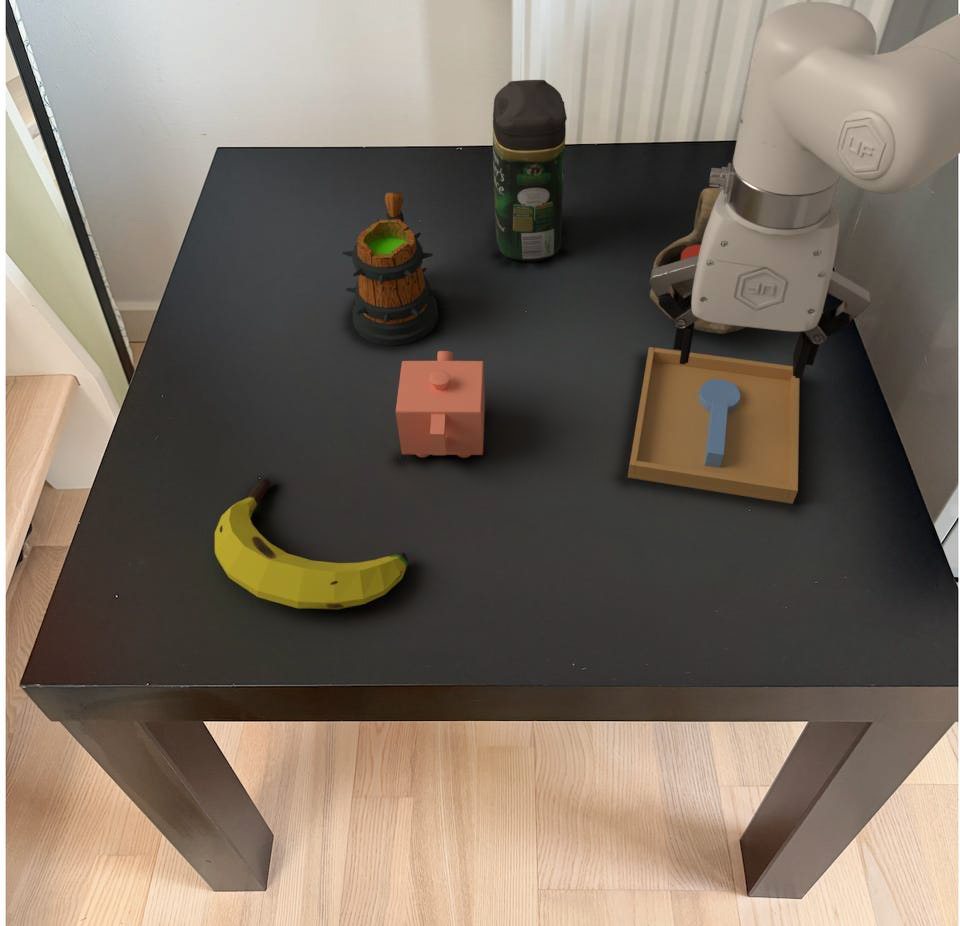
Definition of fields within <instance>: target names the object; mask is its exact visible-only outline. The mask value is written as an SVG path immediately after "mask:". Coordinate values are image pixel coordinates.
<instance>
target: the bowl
mask: <svg viewBox="0 0 960 926" xmlns="http://www.w3.org/2000/svg"><path fill="white" fill-rule="evenodd" d="M721 191H722V189H719V187H706V188H703V189H702V191H701V192H700V194H699V198H698V202H697V207H696V211H695V217H694V222H693V231H692V232H690V233H689V234H688V235H686V236H684V237H682V238H679V239H677V240H676V241H674V242H672V243H671V244H669V245H668V246H667V247H665V248H664V249H662V250H661V251H660V252H659V253H658V255H657V256H656V258H655V260H654V261H653V268H652V269H654V268H657V267H660V266H664V265H667V264H670V263H674V262H677V261H680V259H681V254H682V252H683V250H684V249H686V248H687V247H689V246H693V245H701V244H702V240H703V236H704V233H705V230H706V227H707V224H708V221H709V218H710V214H711V212H712V209H713V207H714V204H715V202H716V200H717V198H718V196H719V194H720V192H721ZM693 282H694V278H692V279H689V280H685V281H682V282H678V283H675V284H672V285H671V286H672V287H673V288H674V289H675V290H676V291H677V292H678V293H679V294H680V295H681V296H684V295H685V294H686V293H688V292H689V291H691V290H692V289H693ZM649 297H650V299H651V301H652V302H653V303H654V304H655V305H656V306H657V307H658V308H659V309H660V310H661V311H662V312H663V314H665V315H666V316H667V317H668V318H669V319H671V320H672V321H674V319H673V318H672V317H671V316H670V315H669V314H668V313H667V312H666V311H664V310H663V309H662V308H661V307H660V305H659V300H658V298H657V296H656V295H655V293H654V291H653V289H652V287H651V288H650V290H649ZM743 329H747V327H744V326H736V325H727V324H719V323H712V322H707V321H704V320H701V319H698V320H696V321H695V323H694V330H697V331H701V332H705V333H712V334H718V335H725V334H729V333H733V332H737V331H741V330H743Z"/></svg>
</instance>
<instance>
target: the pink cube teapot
mask: <svg viewBox="0 0 960 926" xmlns="http://www.w3.org/2000/svg"><path fill="white" fill-rule="evenodd" d="M484 367H485V366H484V361H483V360H454V352H453V351H450V350H438V351H437V359H436V360H402V361H401V367H400V375H399V382H398V390H397V398H396V406H395V417H396V418H395V419H396V424H397V431H398V439H399V445H400V453H401V455H416V456H417V457H419V458H427V457H429V456H430V455H432V456H447V455H449V456H451V455H452V456H453V455H454V456H458V457H459V458H463V459H465V458H469V457H470V456H472V455H473V456H483V455H484V454H483V453H484V437H485V436H484V434H485V415H486V414H485V412H486V410H485V409H486V398H485V397H486V396H485V393H486V392H485V369H484Z"/></svg>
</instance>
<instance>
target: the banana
mask: <svg viewBox="0 0 960 926" xmlns="http://www.w3.org/2000/svg"><path fill="white" fill-rule="evenodd" d="M270 486H271V482H270V478H265V479H264V480H262V481H260V482H258V483H256V484H255V485H254V487H252V488H251V490H250V491H249V493H248V495H247V496H246V497H245V498H244V499H242V500H239V501H237V502H235V503H234V504H233V505H231V506H230V507H229V508H228V509H227V510H226V511H225V512H224V513H223V514H222V515H220V518H219V520H218V524H217V526H216V529H215V531H214V555H215V557H216V559H217V561H218V563H219V564H220V566H221V567H222V570H224V573H225V574H226V575H227V577H228V579H230V580H232V582H235V583H236V584H238V586H240V587H242V588H243V589H245V590H247V592H249V593H251V594H253V595H254V596H255V597H257V598H259V599H262V600H266V601H269V602H274V603H277V604H281V605H284V606H288V607H292V608H295V609H309V610H311V609H313V610H314V609H315V610H342V609H346V608H353V607H356V606H362V605H366V604H367V603H369V602H372V601H374V600H376V599H379V598H381V597H383V596H384V595H386V594H387V593H389V591H391V589H393V588H394V587H395V586H396V585H397V584H398V583H400V582H401V580H402V579H403V577H404V575H405V573H406V570H407V568H408V565H409V558H408V556H407V553H405V552H398V553H396V554H392V555H388V556H387V555H386V556H383V557H379V558H376V559H371V560H365V561H359V562H333V561H332V562H331V561H319V560H313V559H308V558H306V557H302V556H297V555H294V554H291V553H287V552H286V551H285V550H283V549H281V548H279V547H277V546H276V545H274V544H272V543H271V542H270V541H268V540H267V539H266V538H265V537H264V536H263V535H262V534H261V533H260V532H259V530H258V529H257V528H256V527H255V526H254V524H253V522H252V520H251V518H252V515H253V513H254V511H255V509H256V507H257V506H258V505H259V503H260V502H261V501H262V500H263V498H264V496H265V495H266V493H267V491H268V489H269V488H270Z"/></svg>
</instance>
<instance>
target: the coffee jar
mask: <svg viewBox="0 0 960 926" xmlns="http://www.w3.org/2000/svg"><path fill="white" fill-rule="evenodd" d="M495 94H496V95H495V96H494V98H493V109H492V110H493V111H492V167H493V168H492V169H493V170H492V171H493V190H494V191H493V192H494V193H493V194H494V218H495V219H494V221H495V235H496V236H495V237H496V239H495V240H496V243H497V246H498V250H499V251H500V253H501V254H502V255H503V256H504V257H506V258H508V259H511V260H515V261H519V262H537V261H542V260H546V259H549V258H551V257H553V256H555V255H556V254H557V253H558V252H559V251H560V248H561V245H562V230H563V229H562V228H563V225H562V224H563V198H564V197H563V196H564V174H565V173H564V171H565V152H566V151H565V149H566V135H567V127H566V122H567V119H568V116H567V112H566V107H565V106H566V105H565V101H564V99H563V96H562V94H561V92H560V91H558V89H556V88H555V87H554V86H553V85H551V84H550V83H548V82H547V81H546V80H545V79H522V80H511V81H509V82H508V83H507V84H506V85H505V86H503V87H502V88H500V90H499V91H498V92H496V93H495Z"/></svg>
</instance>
